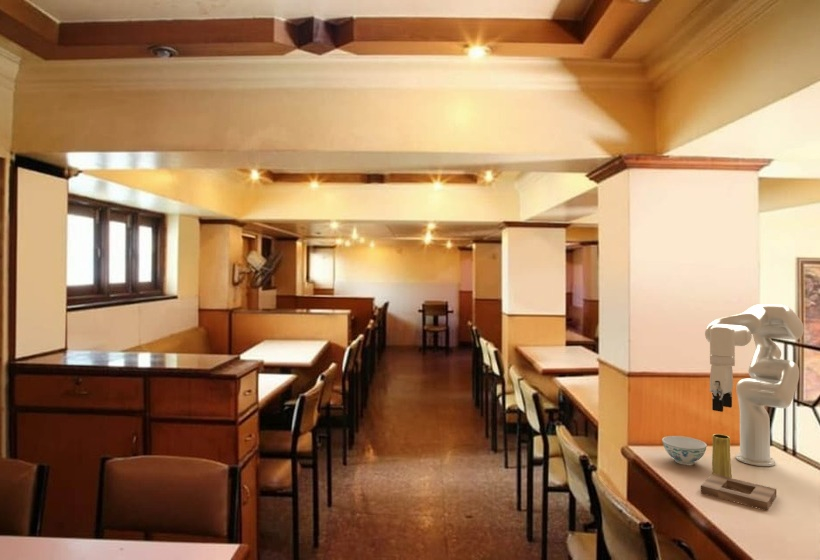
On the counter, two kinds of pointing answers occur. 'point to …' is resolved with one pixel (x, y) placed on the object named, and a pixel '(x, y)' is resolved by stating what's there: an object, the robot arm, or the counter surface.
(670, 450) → the chinaware
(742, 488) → the vase stand
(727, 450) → the vase
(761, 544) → the counter surface
